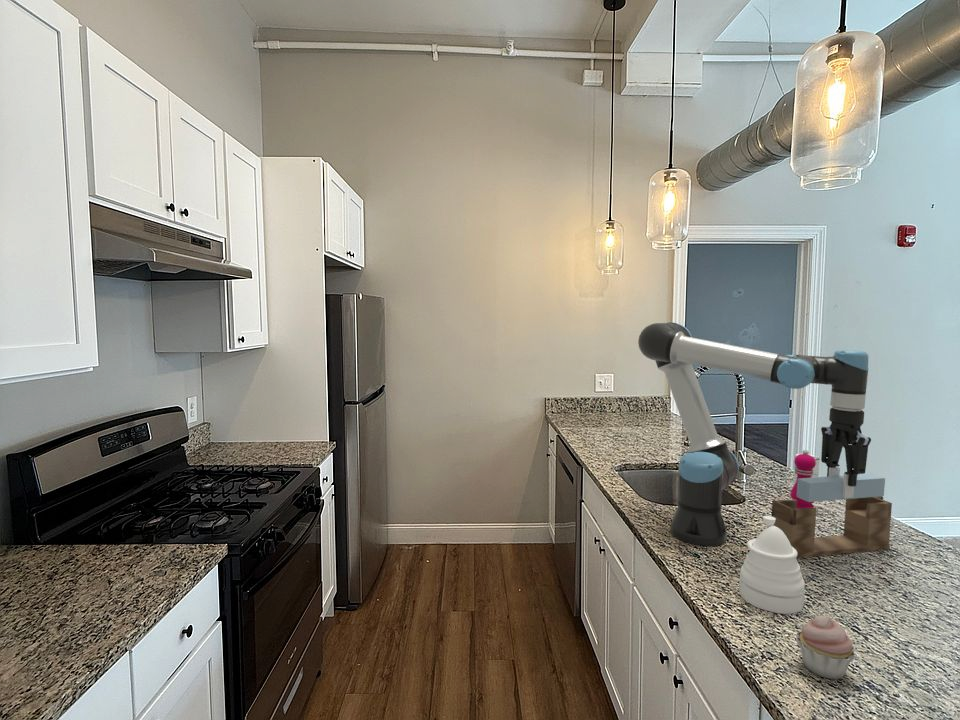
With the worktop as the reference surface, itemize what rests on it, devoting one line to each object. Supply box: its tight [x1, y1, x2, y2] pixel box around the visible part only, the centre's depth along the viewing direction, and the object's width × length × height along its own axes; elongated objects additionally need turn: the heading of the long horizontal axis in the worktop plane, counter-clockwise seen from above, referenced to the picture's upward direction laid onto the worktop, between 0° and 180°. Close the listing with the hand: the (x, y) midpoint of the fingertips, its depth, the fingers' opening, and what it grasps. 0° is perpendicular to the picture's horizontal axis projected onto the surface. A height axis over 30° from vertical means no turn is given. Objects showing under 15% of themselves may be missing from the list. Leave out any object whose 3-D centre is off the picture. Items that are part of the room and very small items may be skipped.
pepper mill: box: [790, 449, 816, 509], centre depth 174 cm, size 7×7×20 cm
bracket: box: [771, 497, 893, 559], centre depth 145 cm, size 31×8×13 cm, turn 101°
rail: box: [797, 473, 886, 503], centre depth 141 cm, size 24×4×5 cm, turn 102°
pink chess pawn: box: [792, 452, 821, 486], centre depth 188 cm, size 6×6×14 cm
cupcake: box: [795, 615, 857, 680], centre depth 95 cm, size 9×9×10 cm
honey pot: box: [738, 515, 806, 615], centre depth 119 cm, size 13×13×18 cm
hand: (840, 493), depth 141 cm, fingers closed on rail, 4 cm apart
